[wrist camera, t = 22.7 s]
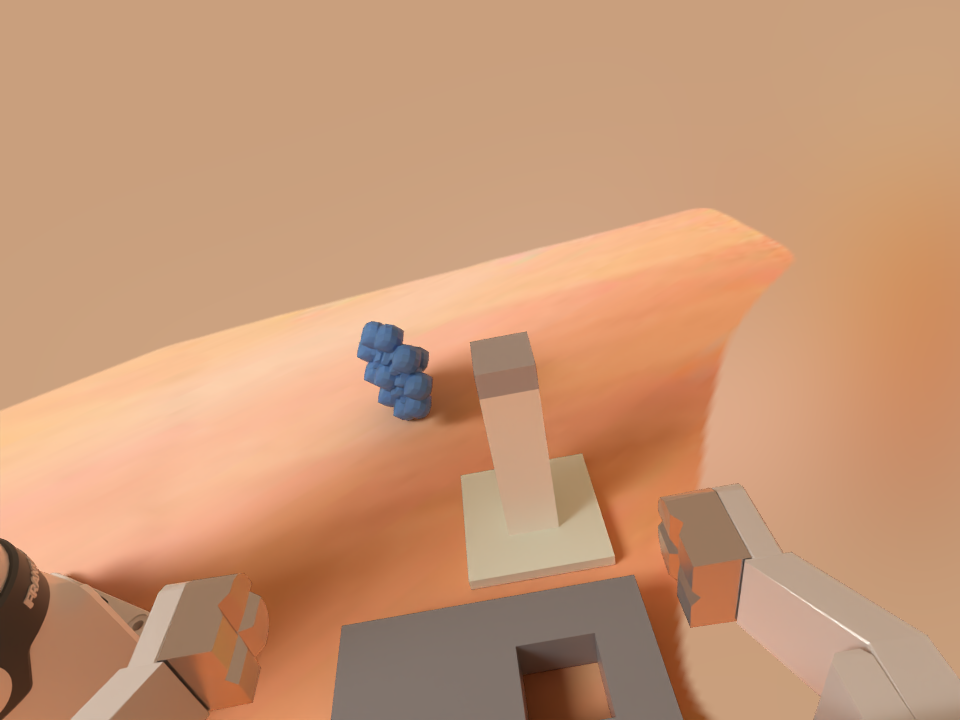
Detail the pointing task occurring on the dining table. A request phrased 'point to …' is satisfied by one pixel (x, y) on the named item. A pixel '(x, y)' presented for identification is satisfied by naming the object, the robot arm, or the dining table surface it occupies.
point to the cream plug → (515, 431)
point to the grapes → (396, 370)
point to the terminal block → (503, 656)
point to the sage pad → (538, 551)
